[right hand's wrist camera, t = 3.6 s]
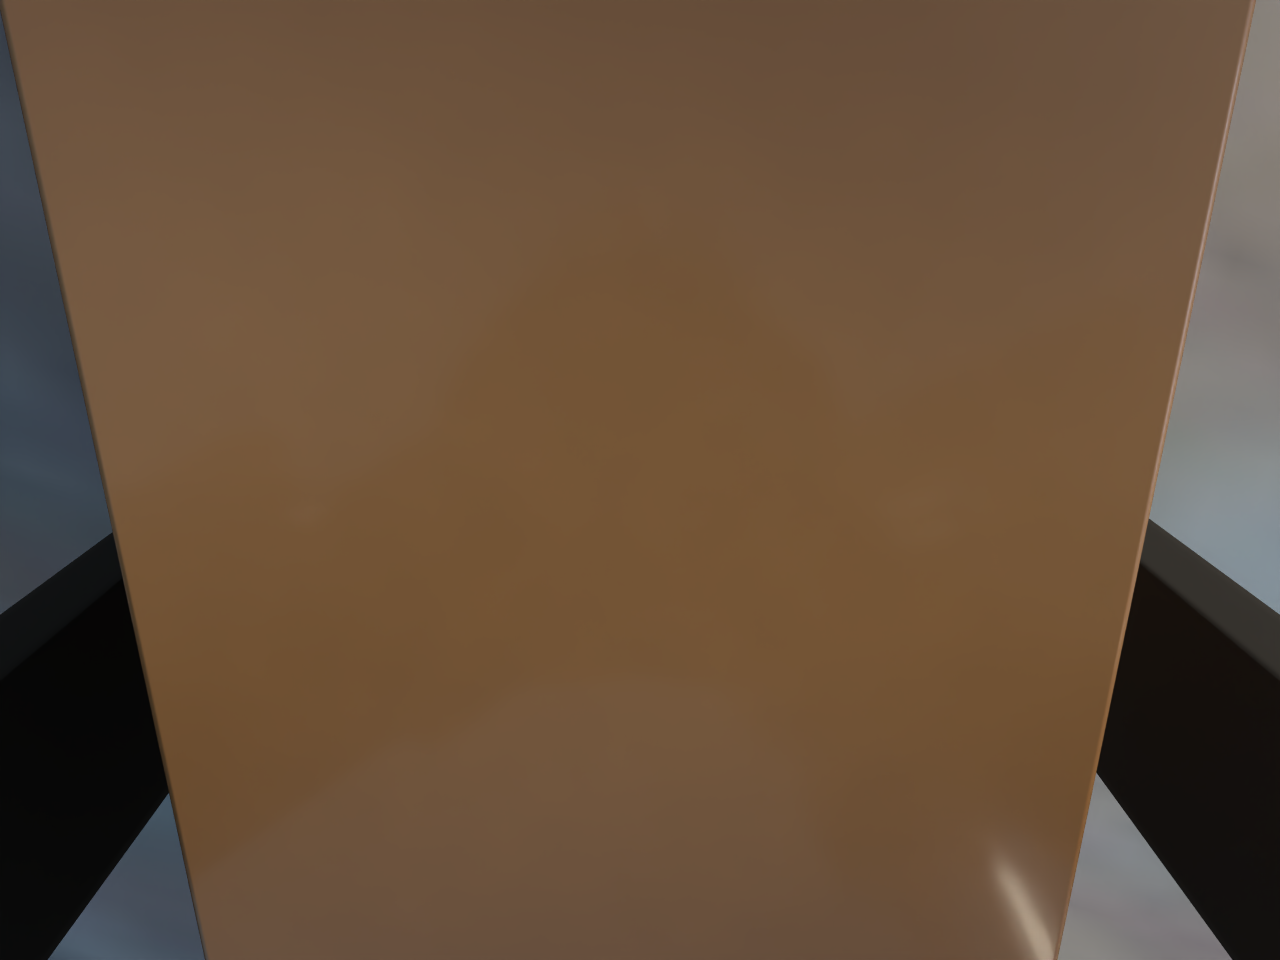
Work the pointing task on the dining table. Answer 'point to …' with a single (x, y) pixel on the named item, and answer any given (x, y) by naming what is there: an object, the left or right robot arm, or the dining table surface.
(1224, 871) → the right robot arm
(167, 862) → the dining table surface
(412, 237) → the box
